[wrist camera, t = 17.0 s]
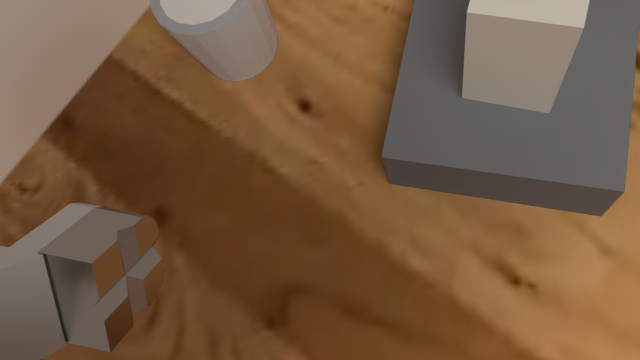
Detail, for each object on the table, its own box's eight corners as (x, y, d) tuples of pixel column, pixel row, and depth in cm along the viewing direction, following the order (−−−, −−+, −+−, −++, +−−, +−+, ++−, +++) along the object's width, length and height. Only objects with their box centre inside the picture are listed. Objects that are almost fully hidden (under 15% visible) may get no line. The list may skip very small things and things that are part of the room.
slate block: (390, 185, 35) (381, 157, 31) (424, 19, 38) (420, -29, 34) (599, 217, 32) (624, 191, 27) (617, 33, 35) (642, -18, 31)
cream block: (461, 98, 31) (466, 12, 23) (480, 26, 32) (490, -78, 24) (549, 113, 29) (583, 27, 22) (565, 38, 30) (603, -68, 23)
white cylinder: (282, 87, 39) (248, 30, 32) (189, 91, 40) (139, 37, 34) (290, 2, 41) (260, -68, 34) (202, 8, 42) (157, -57, 36)
